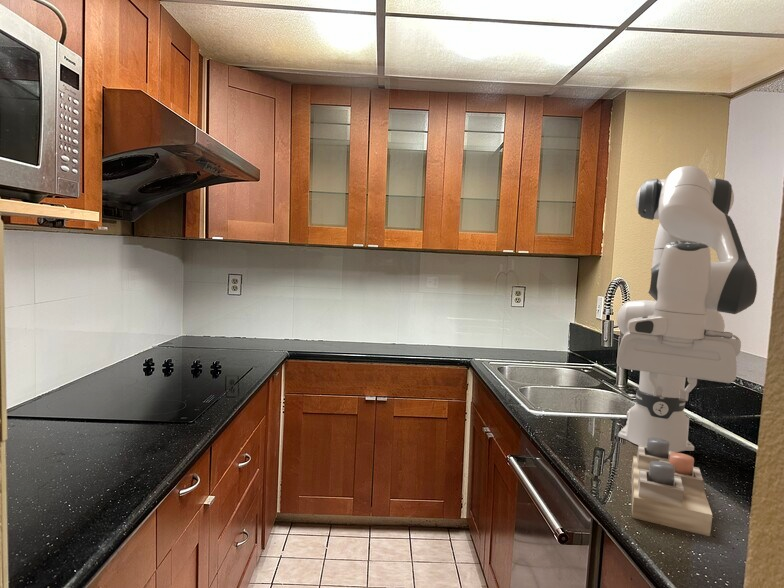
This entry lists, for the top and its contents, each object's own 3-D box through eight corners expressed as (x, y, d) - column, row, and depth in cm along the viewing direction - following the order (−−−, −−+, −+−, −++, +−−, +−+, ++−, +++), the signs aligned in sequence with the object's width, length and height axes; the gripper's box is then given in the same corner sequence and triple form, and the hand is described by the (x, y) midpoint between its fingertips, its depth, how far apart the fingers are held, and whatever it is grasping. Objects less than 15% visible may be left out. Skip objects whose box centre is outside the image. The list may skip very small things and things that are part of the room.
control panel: (631, 472, 126) (634, 443, 125) (694, 485, 121) (698, 455, 120) (631, 517, 103) (635, 482, 102) (709, 536, 98) (714, 499, 97)
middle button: (667, 464, 113) (669, 450, 113) (691, 469, 111) (693, 455, 111) (669, 471, 109) (670, 457, 109) (693, 477, 107) (695, 462, 107)
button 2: (647, 473, 108) (649, 459, 107) (672, 478, 106) (674, 463, 106) (648, 481, 104) (650, 466, 103) (674, 487, 102) (675, 471, 102)
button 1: (645, 449, 122) (647, 436, 122) (667, 453, 120) (668, 440, 120) (646, 455, 118) (647, 441, 118) (668, 459, 116) (670, 446, 116)
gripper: (739, 331, 101) (730, 403, 102) (621, 319, 109) (614, 386, 110) (745, 335, 95) (736, 411, 96) (620, 322, 103) (613, 392, 105)
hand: (670, 398), depth 103 cm, fingers open, 3 cm apart
